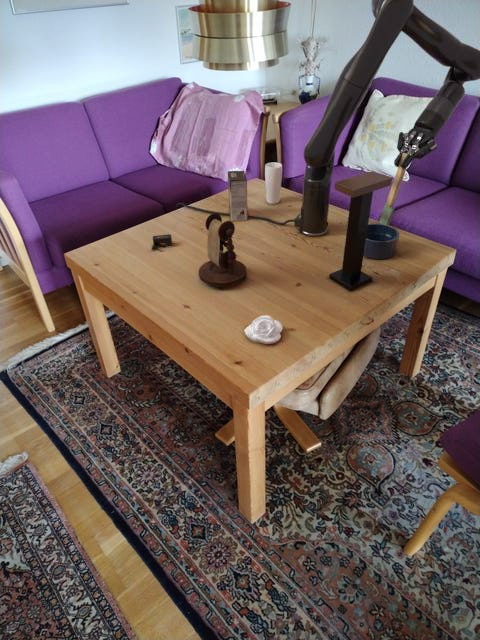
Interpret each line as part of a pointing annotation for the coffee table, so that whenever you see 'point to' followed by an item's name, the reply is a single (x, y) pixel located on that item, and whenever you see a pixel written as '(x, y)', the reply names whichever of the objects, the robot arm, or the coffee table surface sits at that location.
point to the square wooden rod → (393, 194)
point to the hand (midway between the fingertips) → (399, 166)
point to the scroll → (221, 255)
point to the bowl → (381, 241)
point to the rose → (264, 330)
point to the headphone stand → (357, 226)
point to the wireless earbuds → (161, 241)
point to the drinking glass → (273, 182)
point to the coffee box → (237, 195)
